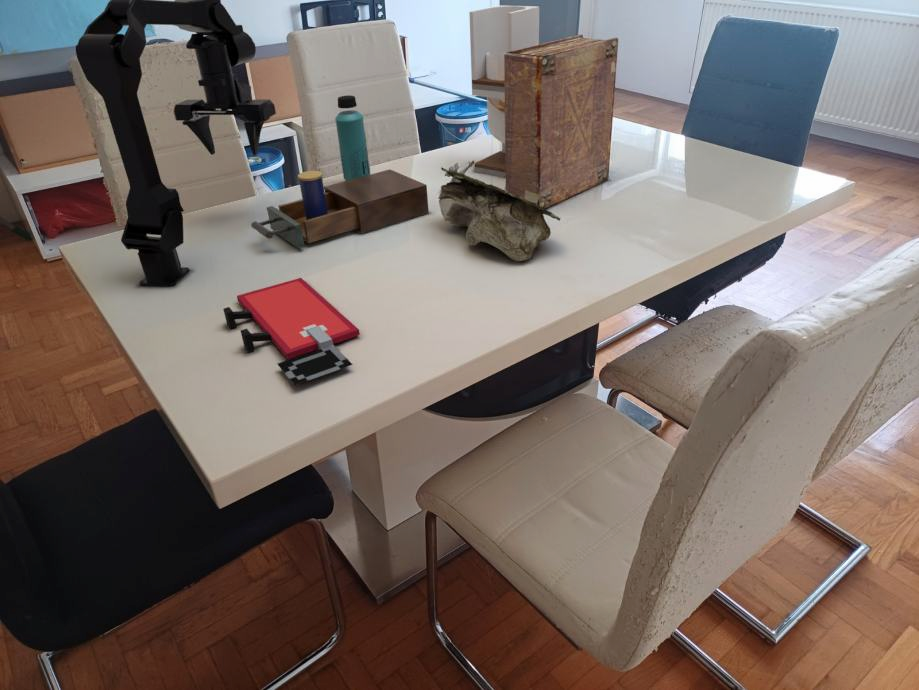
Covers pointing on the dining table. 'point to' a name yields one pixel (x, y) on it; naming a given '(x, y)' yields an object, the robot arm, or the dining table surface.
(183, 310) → the dining table surface
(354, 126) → the beverage bottle
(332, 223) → the drawer
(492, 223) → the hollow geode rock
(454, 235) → the dining table surface
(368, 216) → the cabinet
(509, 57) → the book
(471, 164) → the dry twiggy plant
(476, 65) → the display case
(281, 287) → the red board with handle
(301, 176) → the tin
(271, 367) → the dining table surface
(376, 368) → the dining table surface
